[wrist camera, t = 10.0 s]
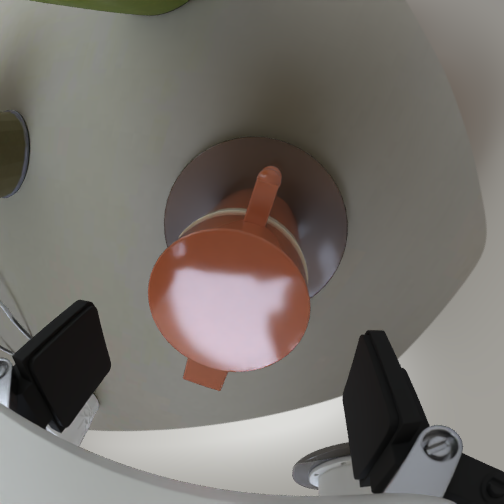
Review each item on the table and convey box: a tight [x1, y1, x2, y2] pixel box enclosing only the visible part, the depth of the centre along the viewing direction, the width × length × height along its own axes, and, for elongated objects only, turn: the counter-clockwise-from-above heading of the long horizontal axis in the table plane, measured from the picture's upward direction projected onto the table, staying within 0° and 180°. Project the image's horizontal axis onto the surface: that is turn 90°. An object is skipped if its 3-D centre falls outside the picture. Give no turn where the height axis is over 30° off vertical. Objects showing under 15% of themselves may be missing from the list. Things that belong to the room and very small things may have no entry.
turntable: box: [164, 137, 347, 298], centre depth 22 cm, size 14×14×2 cm
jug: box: [148, 163, 311, 391], centre depth 16 cm, size 10×7×11 cm, turn 162°
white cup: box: [46, 394, 99, 446], centre depth 29 cm, size 8×8×10 cm
